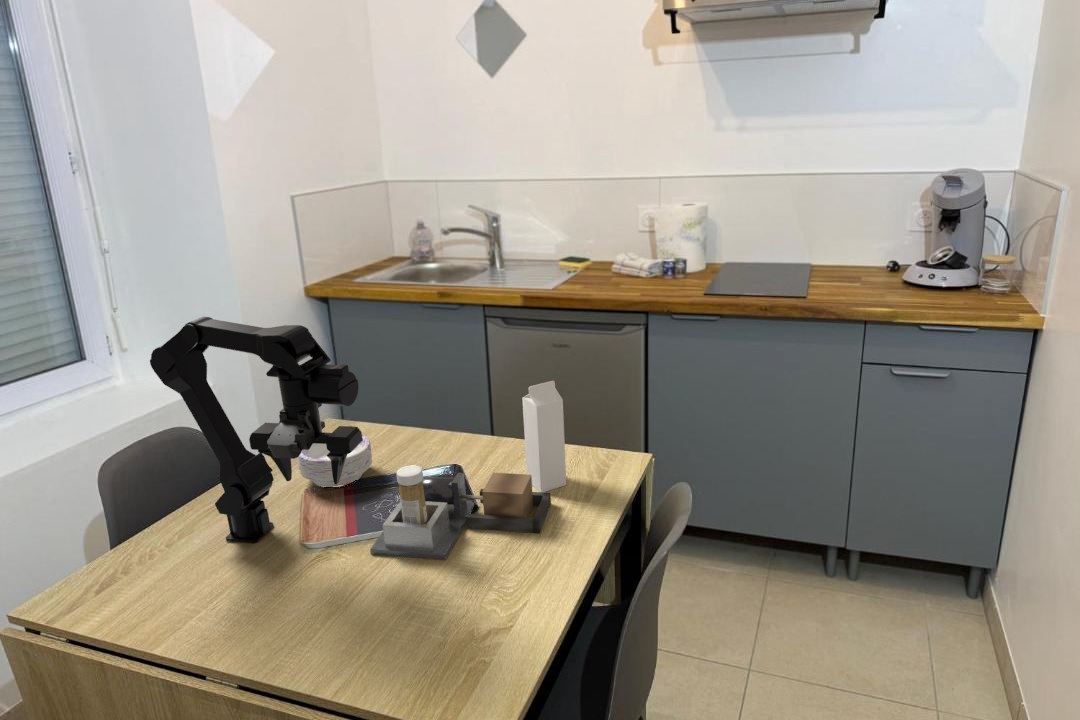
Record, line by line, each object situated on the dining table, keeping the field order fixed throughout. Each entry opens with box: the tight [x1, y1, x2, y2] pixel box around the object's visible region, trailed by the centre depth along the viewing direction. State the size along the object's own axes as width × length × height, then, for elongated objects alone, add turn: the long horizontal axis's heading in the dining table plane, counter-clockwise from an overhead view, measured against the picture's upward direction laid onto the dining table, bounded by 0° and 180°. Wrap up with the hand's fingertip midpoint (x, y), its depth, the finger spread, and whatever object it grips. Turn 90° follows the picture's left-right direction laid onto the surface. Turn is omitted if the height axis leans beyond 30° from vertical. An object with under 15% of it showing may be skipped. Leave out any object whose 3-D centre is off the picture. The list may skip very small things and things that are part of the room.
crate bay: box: [465, 472, 552, 534], centre depth 150 cm, size 14×11×7 cm
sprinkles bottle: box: [396, 464, 428, 524], centre depth 141 cm, size 5×5×13 cm
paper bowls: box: [296, 431, 373, 487], centre depth 168 cm, size 15×15×8 cm
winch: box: [369, 472, 483, 561], centre depth 146 cm, size 19×19×8 cm
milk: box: [521, 380, 567, 493], centre depth 159 cm, size 6×6×22 cm
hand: (312, 481), depth 140 cm, fingers open, 9 cm apart
